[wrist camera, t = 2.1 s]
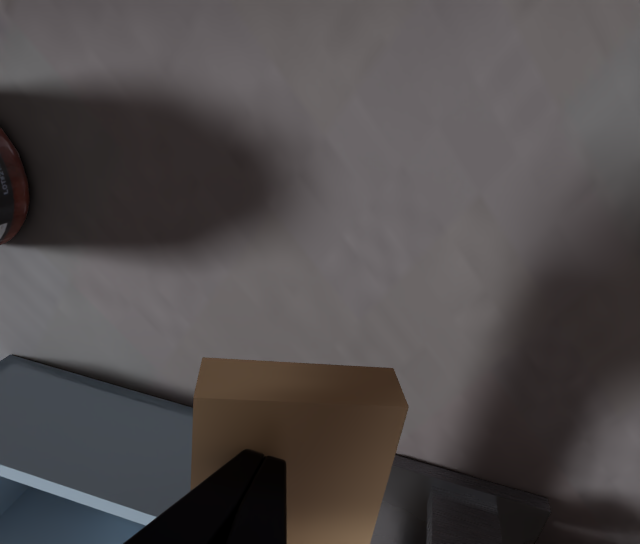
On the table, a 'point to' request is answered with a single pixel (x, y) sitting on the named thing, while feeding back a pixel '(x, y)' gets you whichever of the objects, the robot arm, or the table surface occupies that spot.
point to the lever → (305, 437)
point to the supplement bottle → (11, 190)
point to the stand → (454, 509)
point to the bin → (85, 456)
